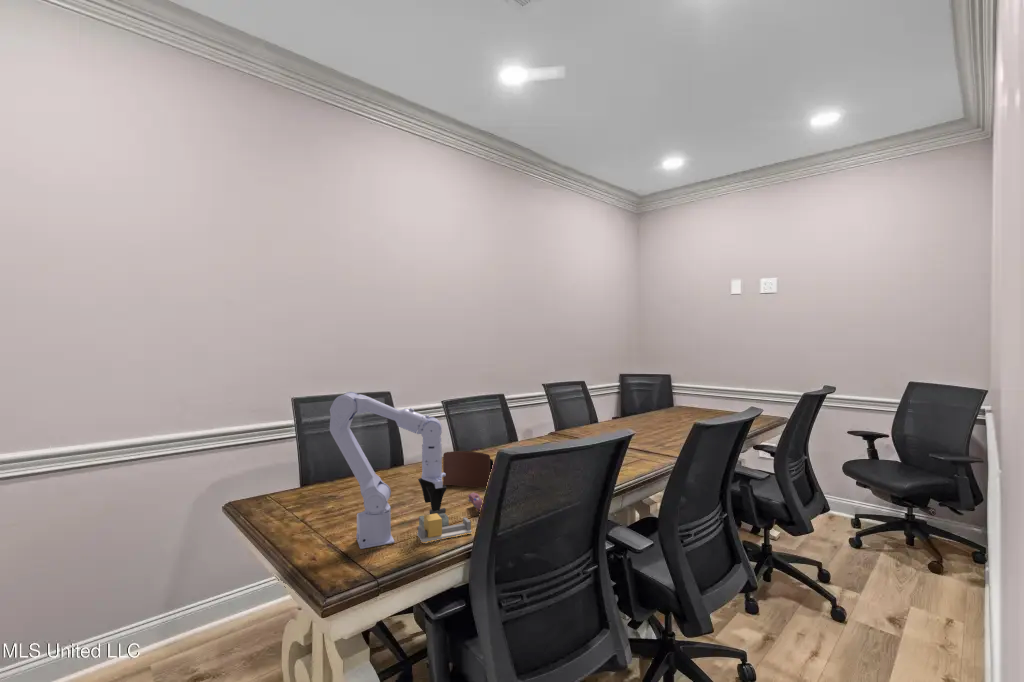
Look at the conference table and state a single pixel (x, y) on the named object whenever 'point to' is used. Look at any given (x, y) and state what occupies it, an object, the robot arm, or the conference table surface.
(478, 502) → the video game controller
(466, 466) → the letter holder
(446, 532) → the rail
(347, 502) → the conference table surface
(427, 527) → the carriage
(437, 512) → the dark lever handle
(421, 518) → the lever base
